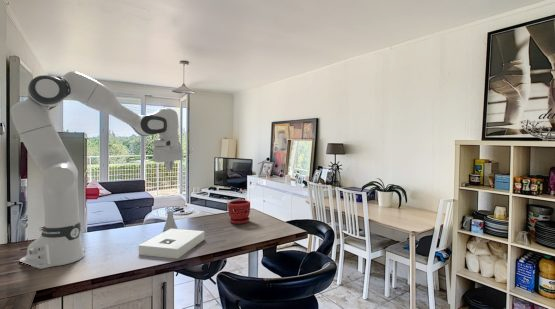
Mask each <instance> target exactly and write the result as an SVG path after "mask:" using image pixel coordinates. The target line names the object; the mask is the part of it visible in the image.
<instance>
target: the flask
mask: <svg viewBox="0 0 555 309" xmlns="http://www.w3.org/2000/svg"><path fill="white" fill-rule="evenodd" d="M166 214H167V217H166V221H165V223H164V226H163V230H162V232H165V231H167V230H169V229H179V228H178V225H177V224H176V222H175V218H174V211H173V210H168V211H167V212H166Z"/></svg>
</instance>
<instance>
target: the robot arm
mask: <svg viewBox="0 0 555 309" xmlns="http://www.w3.org/2000/svg"><path fill="white" fill-rule="evenodd" d="M65 99H72V100H75V101H77V102H79V103H80V104H82V105H85V106H86V107H88V108H91V109H93V110H95V111H98V112H101V113H104V114H108V115H110V116H113V117H114V118H116V119H117V120H120V121H121V122H123V123H125V124H127V125H129V126H130V127H131V128H132V129H133V130H134V132H135V133H136V134H138V135H139V136H143V137H149V136H154V135H159V136H158V138H157V139H156V140H154V141H152V146H153V149H152V157H153V162H154V163H163V164H164V167H165V170H166V171H168V172H169V171H173V169H174V168H173V167H174V164H175V161H183V159H184V153H183V146H182V145H181V143H180V142H179V141H180V140H179V136H180V135H179V132H178V131H179V116H178V113H177V111H176V110H174V109H171V108H166V107H164V108H160V109H158V110H157V111H155V112H152V113H148V114H145V115H141V114H138V113H136V112H134V111H132V110H131V109H129V108H128V107H126V106H124V105H122V104H121V103H120V102H119V101H118V98H117V97H116V94H115V93H114V91H113V90H111V89H110V88H108V87H107V86H106V85H104V84H103V83H101V82H99V81H97V80H96V79H94V78H92V77H90V76H87V75H85V74H83V73H80V72H78V71H69V72H66V73H65V74H63V76H54V75H47V74H45V75H38V76H35V77H34V78H32V79H30V81H29V84H28V87H27V99H25V100H22V101H19V102H16V103H14V104H13V105H12V106H11V108H10V116H11V119H12V123H13V126H14V127H15V129H16V131H17V134H18V135H19V137H20V139H21V141H22V143H23V145H24V147H25V148H26V150H27V152H28V154H29V155H30V157H31V158H32V159H33V161H34V163H35V164H36V165H37V167H38V168H39V170H40V172H41V173H42V174H41V186H42V187H41V188H42V189H41V190H42V197H43V205H44V206H43V207H44V226H42V227H39V231H42V232H41V233H40V234H41V235H40V236H39V237H38V238H36V239H35V240H33V241H32V242H31V243H30V244H29V245H28V246H27V249H26V250H27V251H26V255H25V256H23V257H21V258H19V259H18V262H19V261H20V262H23V263H26V264H29V265H31V266H30V267H32V268H37V269H39V270H41V269H47V268H50V267H57V266H63V265H69V264H72V263H74V262H78V261H79V260H81V259H83V258H84V257H85V255H86V254H85V248H84V245H83V238H82V234H81V231H82V230H81V229H82V226H81V221H80V205H79V204H80V202H79V170H78V167H77V165H76V164H75V163H74V160H73V158H72V157H71V155H70V154H69V152H68V150H67V148H66V147H65V145H64V143H63V140H62V139H61V137H60V134H59V133H58V131H57V129H56V127H55V125H54V123H53V121H52V119H51V117H50V113H49V111H50V110H53V109H54V108H56V107H57V106H59V105H60V104H61V103H63V100H65ZM23 263H22V264H23ZM26 264H25V265H26ZM29 265H28V266H29Z"/></svg>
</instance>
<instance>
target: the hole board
mask: <svg viewBox="0 0 555 309" xmlns="http://www.w3.org/2000/svg"><path fill="white" fill-rule="evenodd" d="M204 240H205V231H204V230H196V229H195V230H193V229H181V228H178V229H169V230H167V231H162V232H161V233H160V234H157V235H156V236H154V237H152V238H150V239H148V240H146V241H143V242H142V243H140V244H138V256H139V255H140V256H148V257H157V258H158V257H159V258H165V259H166V258H168V259H179V258H181V257H183V255H185V254H186V253H188V252H189V251H190V250H192V249H193V248H194V247H195V246H197V245H199V244H200V243H201V242H203V241H204ZM167 241H170V242H172V243H171V244H164V243H165V242H167Z"/></svg>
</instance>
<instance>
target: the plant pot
mask: <svg viewBox="0 0 555 309" xmlns="http://www.w3.org/2000/svg"><path fill="white" fill-rule="evenodd" d="M227 211H228V215H229V221H230V223H232V224H238V225H241V224H242V225H243V224H247V223H248V222H249V221H250V217H249V216H250V213H251V201H249V200H243V199H242V200H241V199H239V200H232V201H228V203H227Z"/></svg>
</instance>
